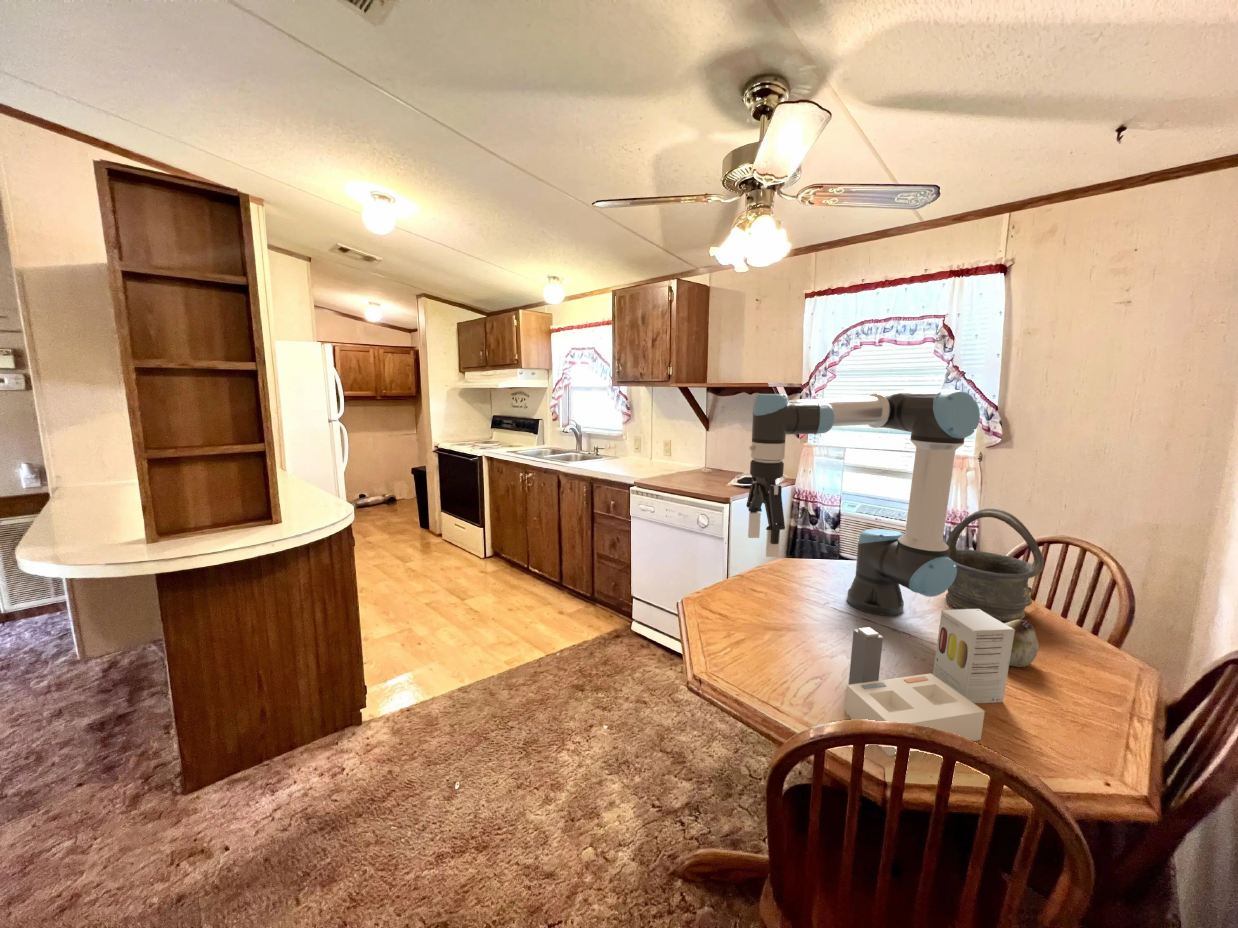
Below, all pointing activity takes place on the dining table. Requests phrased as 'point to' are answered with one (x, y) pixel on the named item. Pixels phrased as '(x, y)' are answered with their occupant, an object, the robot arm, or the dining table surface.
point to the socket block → (915, 705)
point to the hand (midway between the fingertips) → (762, 546)
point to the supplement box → (973, 654)
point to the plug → (865, 656)
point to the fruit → (1023, 643)
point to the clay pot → (993, 573)
